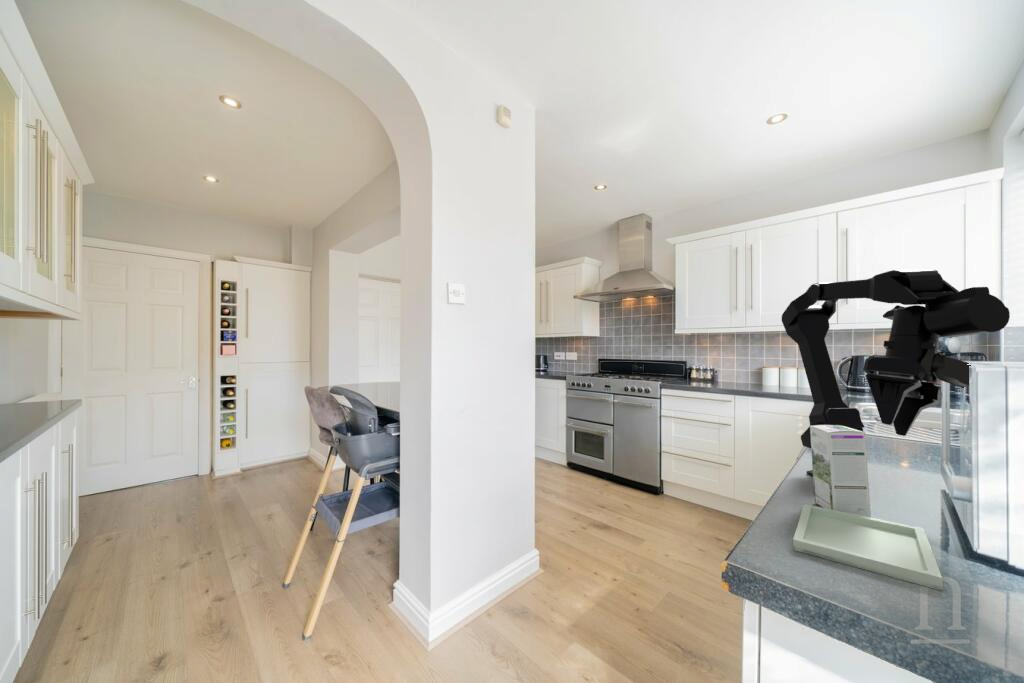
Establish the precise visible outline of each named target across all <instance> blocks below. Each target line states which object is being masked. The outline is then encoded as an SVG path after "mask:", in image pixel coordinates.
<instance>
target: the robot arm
mask: <svg viewBox="0 0 1024 683" xmlns="http://www.w3.org/2000/svg"><path fill="white" fill-rule="evenodd" d="M849 299H850V300H851V299H854V300H855V299H867V300H872V301H874V302H879V303H885V304H901V305H903V306H901V305H895V306H894V308H892V309H890V310H888V311H886V312H885V313H883V315H882V318H884V319H888V320H890V321H892V322H891V328H890V330H889V331H890V332H889V337H888V340H884V341H883V348H884V349H885V355H882V354H873V355H871V356H869V357H867V358H866V359H864V364H863V368H862V370H863V371H864V373H865V374H864V375H865V378H866V380H867V383H868V386H869V389H870V392H871V394H872V397H873V400H874V403H875V406H876V409H877V412H878V415H879V418H880V421H881V423H882V424H883V425H888V426H892V425H893V427H894V431H895V434H896V435H898V436H903V437H905V436H907V434H908V433H909V431H910V429H911V428H912V426H913V424H914V423H915V421H916V419H917V418H918V416H920V413H921V412H922V411H923V410H926V409H929V408H931V407H933V408H934V407H936V406H938V404H939V405H940V404H941V402H942V397H943V393H942V391H941V390H940V388H938V386H936V385H935V384H937V382H938V381H939V380H940V381H942V382H945V383H947V384H951V385H952V386H956V387H958V388H961V389H963V388H964V387H966V386H967V385H968V386H969V366H971V365H967V364H969V363H970V362H967V361H964V360H960V359H957V358H954V357H951V356H948V355H947V356H946V355H942V353H941V351H939V348H938V345H939V344H938V343H939V339H940V337H942V338H943V337H944V338H948V339H950V338H957V337H964V336H965V337H967V336H973V335H981V334H989V333H995V332H999V331H1002V330H1003V329H1004V328H1005V327H1006V326H1007V325H1008V323H1009V320H1010V317H1011V316H1010V313H1011V312H1010V310H1009V308H1008V307H1007V306H1006V305H1005V303H1004V302H1003V301H1002V300H1001V299H1000V298H998V296H995V295H993V294H990V289H989V287H987V286H972V287H969V288H964V289H962V290H958V289H956V288H955V287H954V286H953V285H952V284H950V283H949V282H947V281H946V280H944V279H943V277H942V275H941V273H939V271H938V270H936V269H935V268H933V269H931V268H925V269H923V268H922V269H893V270H889V271H885V272H882V273H879V274H878V273H877V274H875V275H873V276H872V277H869V278H866V279H857V280H856V279H855V280H845V281H836V282H834V281H832V282H831V281H829V282H828V281H827V282H816V283H812V284H811V285H810V286H809V287H808V288H807V290H806V291H805V292H803V294H801V295H800V296H798V297H797V298H795V299H794V300H792V301H790V303H789V304H788V305H787V307H786V309H785V310H784V311H783V312H782V314H781V323H782V326H783V328H784V330H785V333H786V335H787V336H788V337H790V339H791V340H793V341H794V342H795V343H796V344H797V345H798V349H799V353H800V356H801V360H802V364H803V367H804V371H805V372H804V373H805V375H806V379H807V383H808V385H809V390H810V392H811V397H812V401H813V405H812V408H811V411H810V413H809V415H808V420H809V427H807V429H805V431H804V432H803V433H802V434H801V435H800V440H801V443H802V446H803V447H804V448H808V449H811V434H810V425H811V426H814V425H840V426H845V427H849V428H852V429H856V430H859V431H862V432H864V429H863V428H865V425H864V424H863V420H862V419H861V412H860V411H859V409H858V408H857V407H850V406H848V405H847V404H846V403H845V402H844V400H843V398H842V394H841V391H840V386H839V384H838V380H837V378H836V374H835V371H834V367H833V363H832V360H831V357H830V354H829V350H828V347H827V343H826V341H825V339H826V336H827V334H828V332H829V329H830V322H829V320H830V319H831V318H832V316H833V315H834V314H835V313H836V311H837V302H838V300H849ZM818 301H819V302H823V301H824V302H823V304H821V306H820V305H816V303H817V302H818ZM923 305H924V306H923ZM874 373H877V374H874ZM934 383H935V384H934ZM806 474H807V475H809V476H810V475H811V476H813V469H811V470H806Z"/></svg>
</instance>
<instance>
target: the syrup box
mask: <svg viewBox="0 0 1024 683" xmlns="http://www.w3.org/2000/svg"><path fill="white" fill-rule="evenodd" d="M809 426H810V434H811V448H810V449H811V451H810V452H811V462H812V463H811V465H812V466H811V468H812V470H813V475H812V480H813V481H812V482H813V494H814V495H813V498H814V503H815V505H817V506H818V507H821V508H826V509H831V510H836V511H841V512H846V513H851V514H856V515H861V516H866V517H870V518H872V516H871V515H872V514H871V512H872V511H871V497H870V483H869V470H868V455H867V440H866V432H865V431H863V432H862V431H859V430H856V429H852V428H849V427H845V426H840V425H814V426H811V425H810V424H809Z"/></svg>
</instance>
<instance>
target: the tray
mask: <svg viewBox="0 0 1024 683" xmlns="http://www.w3.org/2000/svg"><path fill="white" fill-rule="evenodd" d="M792 542H793V551H796V552H799V553H803V554H806V555H811V556H813V557H818V558H821V559H825V560H829V561H833V562H836V563H840V564H844V565H847V566H850V567H855V568H859V569H862V570H864V571H865V570H866V571H869V572H873V573H876V574H879V575H883V576H887V577H890V578H895V579H898V580H901V581H905V582H909V583H913V584H916V585H920V586H923V587H927V588H931V589H934V590H937V591H944V585H943V583H944V582H943V576H942V573H941V571H940V569H939V568H940V567H939V566H938V563H937V560H936V557H935V555H934V552H933V550H932V547H931V544H930V541H929V539H928V536H927V534H926V531H925V529H924V527H923V528H922V527H919V526H913V525H908V524H904V523H901V522H900V523H899V522H895V521H894V522H893V521H890V520H885V519H879V518H874V517H871V518H870V517H866V516H861V515H856V514H851V513H846V512H841V511H836V510H831V509H826V508H822V507H820V506H818V505H817V506H815V505H810V504H806V503H804V505H803V506H802V510H801V514H800V517H799V520H798V523H797V526H796V530H795V533H794V535H793V538H792Z"/></svg>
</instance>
